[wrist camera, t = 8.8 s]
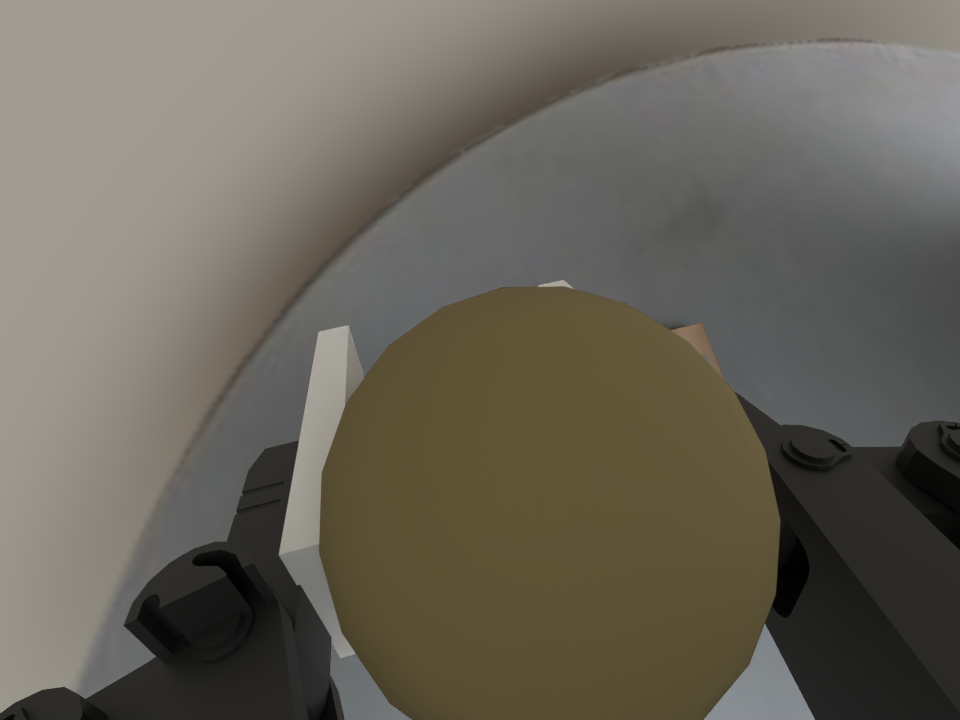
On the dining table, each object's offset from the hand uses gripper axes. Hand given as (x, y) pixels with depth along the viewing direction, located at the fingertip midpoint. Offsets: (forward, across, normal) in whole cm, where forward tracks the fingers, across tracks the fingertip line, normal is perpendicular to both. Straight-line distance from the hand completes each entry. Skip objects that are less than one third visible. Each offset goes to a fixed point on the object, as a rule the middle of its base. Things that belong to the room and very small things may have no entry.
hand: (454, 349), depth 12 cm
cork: (0, 0, -5) cm, 5 cm away
